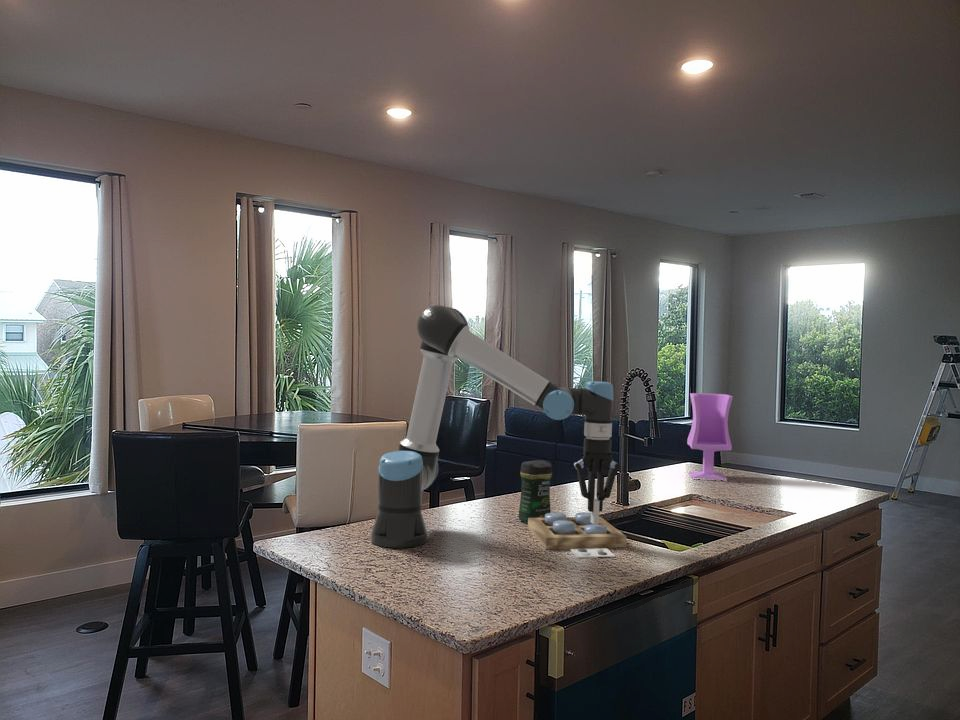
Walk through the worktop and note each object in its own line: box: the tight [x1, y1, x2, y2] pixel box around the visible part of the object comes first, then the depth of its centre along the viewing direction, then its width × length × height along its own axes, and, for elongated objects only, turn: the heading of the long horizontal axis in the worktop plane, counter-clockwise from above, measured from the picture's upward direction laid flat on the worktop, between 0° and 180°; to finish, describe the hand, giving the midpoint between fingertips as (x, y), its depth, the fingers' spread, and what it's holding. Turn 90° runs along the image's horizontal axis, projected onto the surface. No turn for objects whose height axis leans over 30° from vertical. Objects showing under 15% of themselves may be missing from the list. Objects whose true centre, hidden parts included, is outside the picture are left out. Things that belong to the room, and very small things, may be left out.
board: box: [527, 516, 627, 550], centre depth 201 cm, size 22×22×3 cm
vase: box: [686, 392, 734, 479], centre depth 300 cm, size 16×16×35 cm
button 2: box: [553, 520, 575, 535], centre depth 196 cm, size 6×6×2 cm
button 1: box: [545, 512, 567, 526], centre depth 205 cm, size 6×6×2 cm
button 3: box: [574, 512, 592, 526], centre depth 206 cm, size 6×6×2 cm
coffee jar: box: [518, 459, 553, 524], centre depth 218 cm, size 10×8×19 cm
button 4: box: [584, 524, 607, 534], centre depth 197 cm, size 6×6×2 cm
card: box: [569, 548, 616, 559], centre depth 185 cm, size 10×7×1 cm
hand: (594, 523), depth 197 cm, fingers closed
